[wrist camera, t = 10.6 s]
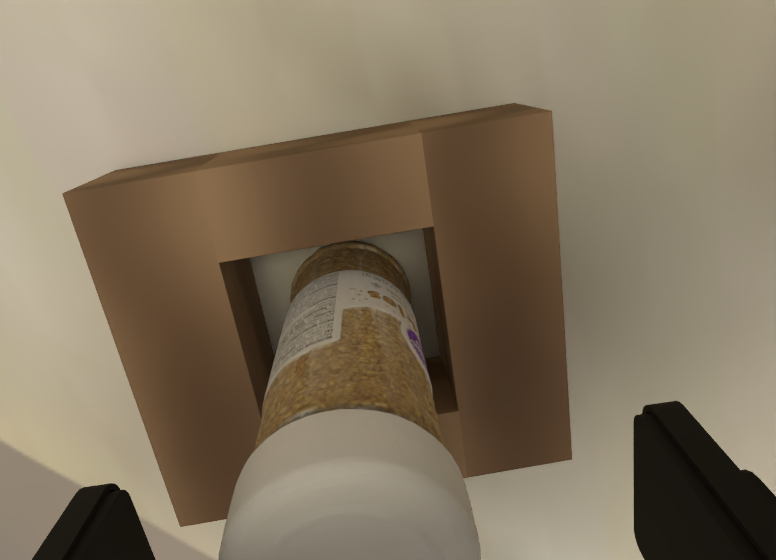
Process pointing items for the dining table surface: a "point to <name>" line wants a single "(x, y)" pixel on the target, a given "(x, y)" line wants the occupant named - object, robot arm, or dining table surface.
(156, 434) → the socket board
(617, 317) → the dining table surface
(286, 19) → the dining table surface
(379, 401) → the sprinkles bottle
